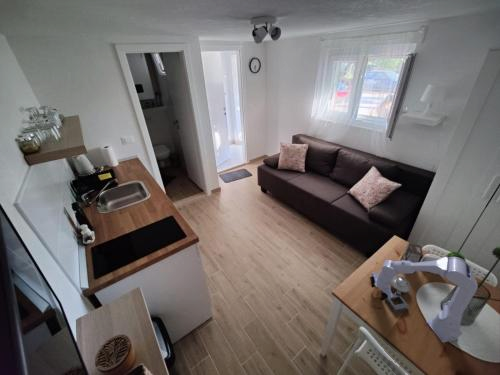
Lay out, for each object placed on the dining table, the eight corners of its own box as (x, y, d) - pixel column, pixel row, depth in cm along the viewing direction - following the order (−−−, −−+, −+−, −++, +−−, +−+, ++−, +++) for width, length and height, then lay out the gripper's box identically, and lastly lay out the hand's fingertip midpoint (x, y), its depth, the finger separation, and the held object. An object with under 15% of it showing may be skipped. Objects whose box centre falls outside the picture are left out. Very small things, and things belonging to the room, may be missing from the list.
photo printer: (437, 270, 132) (446, 257, 125) (438, 275, 128) (447, 262, 122) (417, 263, 136) (425, 250, 129) (418, 269, 133) (425, 256, 126)
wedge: (381, 296, 120) (385, 289, 116) (374, 298, 119) (377, 291, 116) (378, 292, 122) (382, 285, 118) (371, 294, 121) (374, 286, 118)
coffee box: (413, 273, 130) (423, 256, 122) (401, 270, 133) (410, 253, 124) (411, 262, 137) (421, 245, 128) (399, 259, 140) (408, 242, 131)
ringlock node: (423, 306, 114) (428, 299, 110) (394, 312, 113) (398, 305, 109) (399, 278, 128) (403, 271, 125) (373, 283, 127) (376, 276, 123)
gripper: (369, 268, 118) (363, 282, 125) (387, 292, 106) (379, 307, 113) (380, 266, 118) (374, 280, 126) (400, 290, 106) (391, 304, 114)
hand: (377, 293), depth 119 cm, fingers open, 7 cm apart
